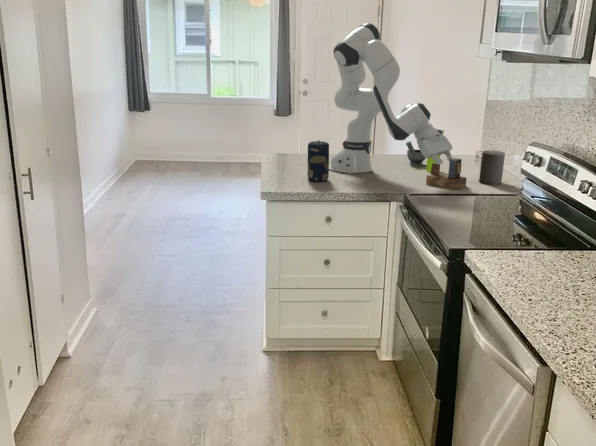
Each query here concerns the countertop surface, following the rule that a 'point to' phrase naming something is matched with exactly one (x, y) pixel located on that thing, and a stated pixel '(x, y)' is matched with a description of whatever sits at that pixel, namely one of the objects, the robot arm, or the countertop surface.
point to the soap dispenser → (430, 161)
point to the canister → (318, 161)
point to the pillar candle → (491, 167)
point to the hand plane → (444, 179)
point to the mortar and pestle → (414, 155)
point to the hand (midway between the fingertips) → (446, 162)
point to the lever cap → (454, 168)
